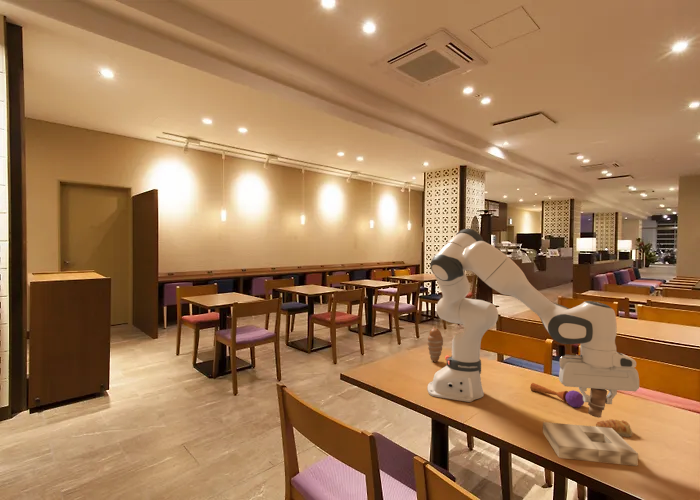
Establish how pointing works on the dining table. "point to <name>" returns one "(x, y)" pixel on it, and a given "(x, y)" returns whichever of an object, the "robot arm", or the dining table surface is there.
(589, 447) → the seat board
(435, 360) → the brown ribbed tapered oval
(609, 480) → the dining table surface
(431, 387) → the robot arm
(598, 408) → the peg
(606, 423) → the pastry
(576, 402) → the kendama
